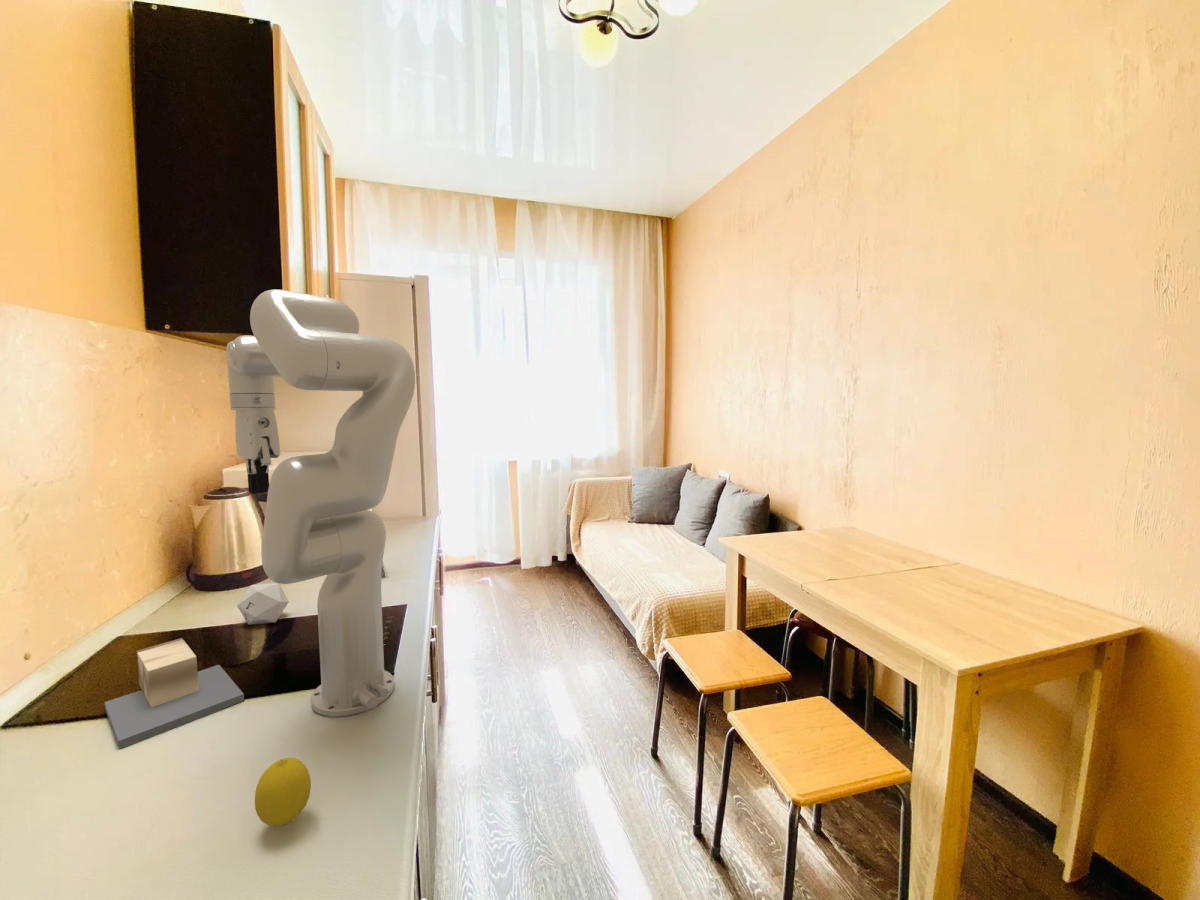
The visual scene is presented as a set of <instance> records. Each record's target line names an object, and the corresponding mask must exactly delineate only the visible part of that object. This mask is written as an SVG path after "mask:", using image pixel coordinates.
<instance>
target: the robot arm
mask: <svg viewBox="0 0 1200 900" xmlns="http://www.w3.org/2000/svg"><path fill="white" fill-rule="evenodd" d="M249 323H250V327H251V331H252V333H253V335H246V334H245V335H239V336H237V337H236V338H235V339H234V340H231V341H229V342H227V345H226V362H227V374H228V375H227V376H228V377H227V378H228V390H229V392H228V393H229V405H230V406H229V407H230V411H235V419H234V422H235V423H234V424H235V447H236V453H237V455H238V457H240V458H242V459H243V460H244V463H245V467H246V473H247V487H248V493H250V494H252V495H254V494H255V495H258V494H263V493H264V494H266V493H267V498H266V507H265V514H264V521H263V522H264V523H263V530H262V538H261V547H260V548H261V552H260V553H261V555H260V556H261V564H262V568H263V571H264V573H265V575H266V576H267V578H269V580H271V581H272V582H274V583H279V585H280V584H282V585H289V584H296V583H300V582H304V581H310V580H311V579H316V578H319V577H325V578H324V579H323V582H322V584H321V587H320V589H319V592H318V595H317V604H316V605H317V607H316V608H317V625H318V645H319V665H320V683H321V684H319V685H318V686H317V687H316V688H315V689H314V691H313V692H312V694H311V696H310V704H311V708H312V709H313V711H314V712H316V713H317V714H320V715H323V716H327V717H344V716H351V715H356V714H359V713H363V712H365V711H368V710H372V709H374V708H376V707H377V706H378V705H380V704H381V703H383V702H384V701H385V700H386V699H387V698H388V697H390V695H391V694H392V693H393V691H394V689H395V678H394V676H393V675H392V674H391V672H390V671H387V670H385V659H384V656H385V655H384V654H385V653H384V639H383V638H384V633H383V632H384V629H383V627H384V626H383V605H382V604H383V603H382V601H383V600H382V578H381V571H382V561H383V559H384V554H385V547H386V539H387V536H386V535H387V533H386V526H385V523H384V521H383V519H382V518H381V517H380V516H379V515H378V514H377V513H376V512H374V511H372V510H370V509H373V508H375V507H377V506H379V504H380V503H381V502H382V501H383V499H384V497H385V495H386V492H387V488H388V484H389V481H390V480H389V479H390V474H391V469H392V465H393V462H394V461H393V460H394V456H395V451H396V445H397V440H398V436H399V432H400V430H401V427H402V425H403V422H404V420H405V418H406V416H407V413H408V411H409V410H410V406H411V403H412V400H413V397H414V394H415V393H414V392H415V388H416V372H415V365H414V361H413V359H412V357H411V354H410V353H409V352H408V350H407V349H406V348H405V347H404V346H403V345H401V344H400V343H398V342H396V341H395V340H392V339H391V340H390V339H388V338H385V337H381V336H375V335H370V334H362V333H359V332H360V321H359V319H358V316H357V315H356V312H355V311H354V310H353V309H352V308H351V307H350V306H348V304H346V303H344V302H343V301H340V300H338V299H335V298H331V297H328V296H323V295H316V294H309V293H303V292H296V291H291V290H285V289H269V290H265V291H263V292H262V293H260V294H259V295H258V296H257V297H256V298H255V299H254V301H253V303H252V305H251V307H250V314H249ZM276 377H277V378H278V377H279V378H282V379H283V380H284V382H286V383H287V384H288V385H290V386H291V387H293V388H296V389H298V390H299V389H300V390H304V391H325V392H326V391H328V392H329V391H331V392H333V391H334V392H362V395H361V396H360V397H359V398H358V399H357V400H355V401H354V403H351V405H350V406H349V407H348V409H346V411H345V412H344V413H343V415H342V416H341V417H340V419H339V420H338V422H337V425H336V428H335V432H334V433H335V435H334V441H333V445H332V447H331V449H330V450H329V451H327V452H326V453H317V454H316V453H315V454H304V455H297V456H296V455H295V456H292V457H289V458H286V459H284V460H282V461H281V462H280V463H278V465H277V466H276V467H275V468H274V470H273V472H272V474H271V476H269V472H270V469H269V468H270V467H269V466H271V465H272V462H271V458H272V459H278V458H280V456H281V447H280V438H279V430H278V423H277V418H276V414H275V411H276V394H275V378H276ZM269 477H270V478H269Z"/></svg>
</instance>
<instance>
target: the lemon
mask: <svg viewBox="0 0 1200 900" xmlns="http://www.w3.org/2000/svg"><path fill="white" fill-rule="evenodd" d="M311 783H312V782H311V776H310V773H309V770H308V768H307V766H306V764H305V763H304V762H303V761H302V760H300V759H298V758H294V757H285V758H281V759H279V760H276V761H274V762H273V763H272V764H270V765H269V766H268V767H267V768H266V769H265V770H264V772H263V773H262V774H261V775H260V777H259V780H258V782H257V785H256V787H255V793H254V808H255V813H256V815H257V817H258V818H259V820H260V821H261V822H262V823H263V824H265V825H267V826H270V827H279V826H280V827H281V826H286V825H288V824H289V823H290V822H292V821H294V820H296V819H297V817H298V816H299V815H301V813H302V812H303V810H304V809H305V807H306V806H307V804H308V801H309V799H310V796H311V789H312V788H311Z"/></svg>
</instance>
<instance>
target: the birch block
mask: <svg viewBox="0 0 1200 900" xmlns="http://www.w3.org/2000/svg"><path fill="white" fill-rule="evenodd" d="M135 653H136V661H137V663H136V664H137V674H138V684H139V687H140V689H141V690H142V691H143V693H144V695H145V697H146V699H147V700H148V702H149V704H150V706H151V708H152V707H155V706H157V705H160V704H163V703H166V702H169V701H172V700H174V699H177V698H180V697H183V696H186V695H189V694H191V693H194V692H197V691H199V684H198V660H197V655H196V654H195V653H194V651H193V650H192V649H191V648H190V646H189V645H188V644H187V643H186V641H185V640H184V639H183V637H180V638H177V639H174V640H169V641H166V642H163V643H160V644H155V645H152V646H147V647H144V648H141V649H139V650H136V652H135Z"/></svg>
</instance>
